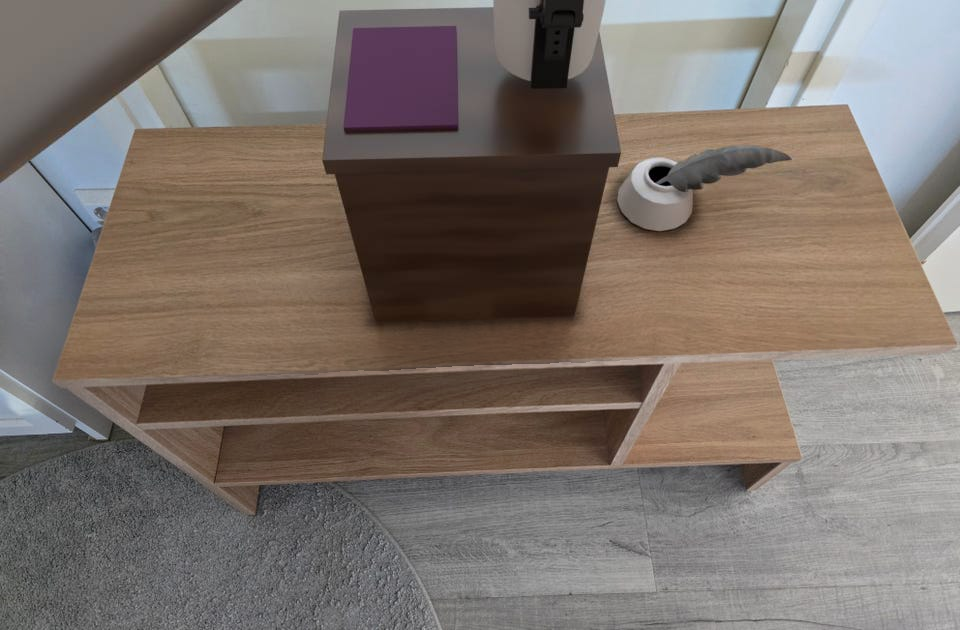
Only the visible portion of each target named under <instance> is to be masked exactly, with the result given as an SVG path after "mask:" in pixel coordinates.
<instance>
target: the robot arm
mask: <svg viewBox="0 0 960 630" xmlns="http://www.w3.org/2000/svg"><path fill="white" fill-rule="evenodd" d="M241 2H243V0H0V184H1V183H3V182H4V181H5V180H7V179H8V178H10V177H11V176H12V175H14V174H15V173H16V172H17V171H19V170H20V169H21V168H23V167H24V166H25V165H26V164H28V163H29V162H30V161H32V160H33V159H35V158H36V157H37V156H39V155H40V154H41V153H42V152H44V151H45V150H46V149H48V148H49V147H50V146H52V145H53V144H55V142H57V141H58V140H60V139H61V138H62V137H63V136H65V135H66V134H68V133H69V132H70V131H71V130H73V129H74V128H76V127H77V126H79V124H81V123H82V122H83V121H85V120H86V119H87V118H89V117H90V116H91V115H93V114H94V113H95V112H97V111H98V110H99V109H101V108H102V107H104V105H106V104H107V103H109V102H110V101H111V100H113V99H114V98H115V97H117V96H118V95H119V94H121V93H122V92H123V91H124V90H127V88H129V87H130V86H132V84H135V82H136V81H138V80H139V79H140V78H142V77H143V76H144V75H146V74H147V73H148V72H150V71H151V70H152V69H154V68H155V67H156V66H158V65H159V64H160V63H162V62H164V61H165V59H167V58H169V57H170V56H171V55H172V54H174V53H175V52H176V51H177V50H179V49H180V48H181V47H183V46H184V45H185V44H187V43H188V42H189V41H191V40H192V39H193V38H195V37H196V36H197V35H199V34H200V33H201V32H203V31H204V30H206V29H207V28H208V27H210V25H212V24H214V23H215V22H216V21H218V20H219V19H220V18H222V17H223V16H224V15H225V14H226V13H228V12H229V11H231V10H232V9H233V8H235V7H236V6H237V5H239V4H240V3H241ZM583 5H584V0H540V4H539V5H538V6H536V8H529V19H535V31H534V44H533V57H532V70H531V89H543V88H567V81H568V73H569V66H570V59H571V51H572V44H573V36H574V29H575V28H580V27H581V26H582V22H583V18H584V14H583Z"/></svg>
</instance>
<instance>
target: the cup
mask: <svg viewBox="0 0 960 630" xmlns="http://www.w3.org/2000/svg"><path fill="white" fill-rule="evenodd" d="M606 2H607V0H584V5H583V14H584V18H583V22H582V26H581V27H580V28H575V29H574V36H573V44H572V51H571V59H570V66H569V73H568V79H570V78H573V77H575V76H577V75H579V74H581V73H582V72H583V71H584V70H585V69H586V68H587V67H588V65H589V63H590V61H591V59H592V57H593V53H594V49H595V46H596V42H597V38H598V33H600V28H601V24H602V20H603V17H604V10H605V7H606ZM492 3H493V7H494V31H495V46H496V54H497V59H498V60H499V61H500V63H501V64H502V66H503V67H504V68H506V69H507V70H508V71H509V72H510V73H512V74H514V75H516V76H518V77H520V78H522V79H525V80H528V81H531V70H532V57H533V44H534V31H535V19H529V8H536V6H538V5H539V4H540V0H493V2H492Z"/></svg>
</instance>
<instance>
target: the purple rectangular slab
mask: <svg viewBox="0 0 960 630" xmlns="http://www.w3.org/2000/svg"><path fill="white" fill-rule="evenodd" d="M343 128H344V131H370V130H412V129H454V128H458V85H457V31H456V26H423V27H378V28H353V36H352V46H351V56H350V66H349V76H348V86H347V97H346V107H345V117H344V127H343Z"/></svg>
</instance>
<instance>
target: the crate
mask: <svg viewBox="0 0 960 630" xmlns="http://www.w3.org/2000/svg"><path fill="white" fill-rule="evenodd" d="M423 26H456V31H457V85H458V128H454V129H412V130H370V131H344V128H343V127H344V117H345V107H346V97H347V86H348V76H349V66H350V56H351V46H352V36H353V28H378V27H423ZM330 80H331V82H330V90H329V91H330V92H329V99H328V106H327V116H326V123H325V133H324V140H323V141H324V142H323V149H322V159H321V161H322V164H323V168H324V171H325V174H326V175H334V177H335V182H336V184H337V188H338V191H339V195H340V199H341V202H342V203H341V204H342V206H343V209H344V213H345V217H346V220H347V224H348V228H349V232H350V235H351V239H352V243H353V246H354V249H355V253H356V256H357V261H358V264H359V268H360V271H361V275H362V279H363V282H364V286H365V290H366V292H367V297H368V300H369V304H370V307H371V308H370V309H371V311H372V314H373V318H374V322H376V323H378V322H379V323H381V322H382V323H385V322H418V321H453V320H454V321H455V320H456V321H457V320H489V319H491V320H492V319H526V318H527V319H529V318H559V317H562V318H563V317H564V318H565V317H575V316H576V313H577V307H578V304H579V300H580V299H579V298H580V295H581V292H582V291H581V290H582V286H583V282H584V278H585V273H586V268H587V265H588V260H589V256H590V252H591V247H592V244H593V238H594V236H595V230H596V226H597V222H598V218H599V213H600V209H601V205H602V202H603V201H602V200H603V196H604V192H605V188H606V183H607V179H608V175H609V170H610V168H618V167H619V164H620V160H621V155H622V150H621V144H620V139H619V132H618V128H617V127H618V126H617V122H616V116H615V111H614V106H613V105H614V104H613V100H612V94H611V88H610V83H609V78H608V73H607V67H606V61H605V54H604V49H603V44H602V38H601V34H600V32H599V33H598V38H597V42H596V46H595V49H594V53H593V57H592V59H591V61H590V63H589V65H588V67H587V68H586V69H585V70H584V71H583V72H582V73H581V74H579V75H577V76H575V77H573V78H570V79H568V81H567V88H543V89H531V81H528V80H525V79H522V78H520V77H518V76H516V75H514V74H512V73H510V72H509V71H508V70H507V69H506V68H504V67H503V66H502V64H501V63H500V61H499V60H498V59H497V54H496V46H495V31H494V6H491V7H490V6H486V7H481V6H480V7H445V8H444V7H441V8H440V7H439V8H433V7H432V8H394V9H393V8H392V9H389V8H388V9H351V10H339V13H338V21H337V30H336V39H335V46H334V55H333V65H332V71H331V79H330Z"/></svg>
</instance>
